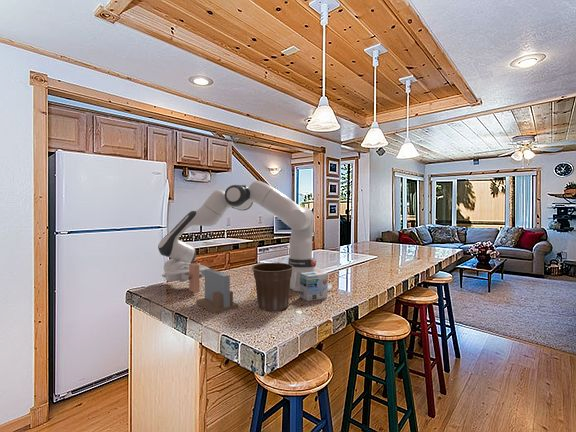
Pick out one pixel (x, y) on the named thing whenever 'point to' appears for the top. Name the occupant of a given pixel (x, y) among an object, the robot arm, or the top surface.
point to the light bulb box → (313, 285)
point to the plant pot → (272, 285)
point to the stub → (194, 277)
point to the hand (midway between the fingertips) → (195, 276)
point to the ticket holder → (217, 292)
